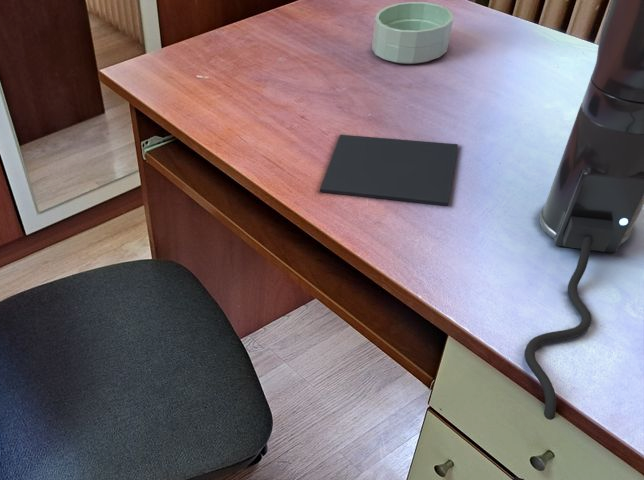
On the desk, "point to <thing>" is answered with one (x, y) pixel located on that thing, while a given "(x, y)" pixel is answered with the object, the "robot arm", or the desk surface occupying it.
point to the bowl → (412, 32)
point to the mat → (391, 169)
